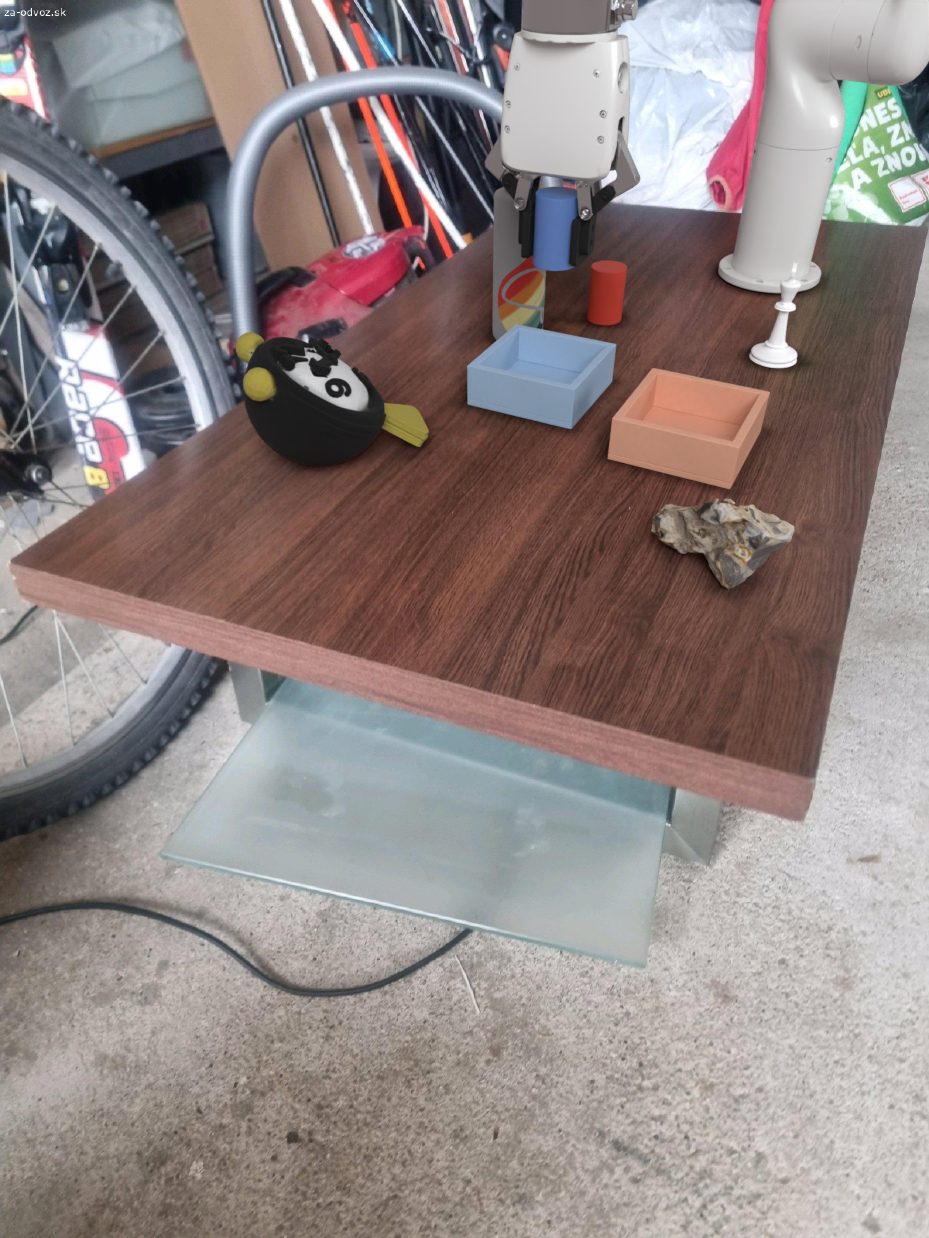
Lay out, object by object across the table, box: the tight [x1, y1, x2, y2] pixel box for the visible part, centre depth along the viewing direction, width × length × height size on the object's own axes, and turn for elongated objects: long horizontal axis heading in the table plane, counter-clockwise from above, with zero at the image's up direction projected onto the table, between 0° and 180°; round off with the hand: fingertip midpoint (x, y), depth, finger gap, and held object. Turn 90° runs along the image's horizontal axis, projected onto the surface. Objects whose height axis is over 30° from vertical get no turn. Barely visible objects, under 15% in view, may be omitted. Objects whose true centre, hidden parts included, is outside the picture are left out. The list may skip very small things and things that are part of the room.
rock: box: [650, 497, 795, 590], centre depth 64 cm, size 9×7×10 cm
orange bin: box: [607, 367, 771, 490], centre depth 78 cm, size 11×11×4 cm
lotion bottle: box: [492, 186, 547, 341], centre depth 91 cm, size 6×6×20 cm
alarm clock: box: [235, 331, 430, 467], centre depth 75 cm, size 12×15×15 cm
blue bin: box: [466, 324, 617, 430], centre depth 86 cm, size 11×11×4 cm
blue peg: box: [533, 186, 578, 272], centre depth 77 cm, size 4×4×6 cm
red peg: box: [586, 259, 628, 326], centre depth 99 cm, size 4×4×6 cm
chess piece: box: [748, 262, 801, 369], centre depth 89 cm, size 5×5×10 cm
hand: (554, 255), depth 78 cm, fingers closed on blue peg, 4 cm apart
